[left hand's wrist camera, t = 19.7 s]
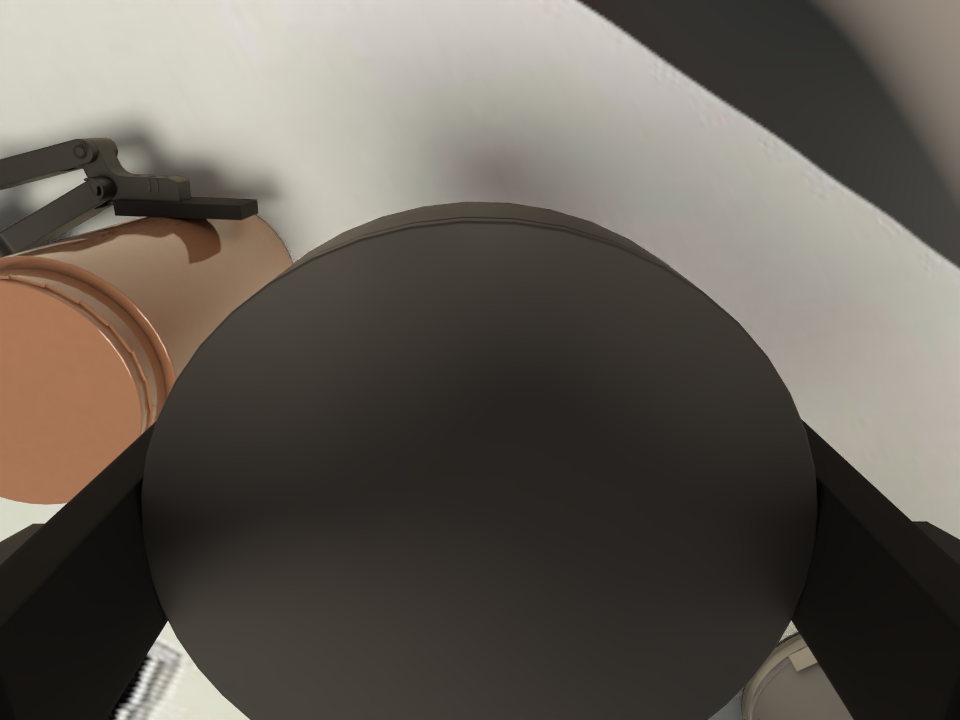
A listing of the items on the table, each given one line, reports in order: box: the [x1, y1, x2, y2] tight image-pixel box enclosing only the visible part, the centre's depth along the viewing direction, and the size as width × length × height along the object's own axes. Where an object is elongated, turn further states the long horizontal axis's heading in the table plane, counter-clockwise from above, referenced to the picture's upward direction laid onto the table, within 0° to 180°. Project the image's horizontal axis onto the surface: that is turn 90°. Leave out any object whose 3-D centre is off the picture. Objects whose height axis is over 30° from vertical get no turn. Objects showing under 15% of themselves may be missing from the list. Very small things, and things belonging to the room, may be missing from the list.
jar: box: [0, 215, 293, 504], centre depth 33 cm, size 10×10×20 cm
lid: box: [141, 202, 818, 720], centre depth 11 cm, size 11×11×2 cm
